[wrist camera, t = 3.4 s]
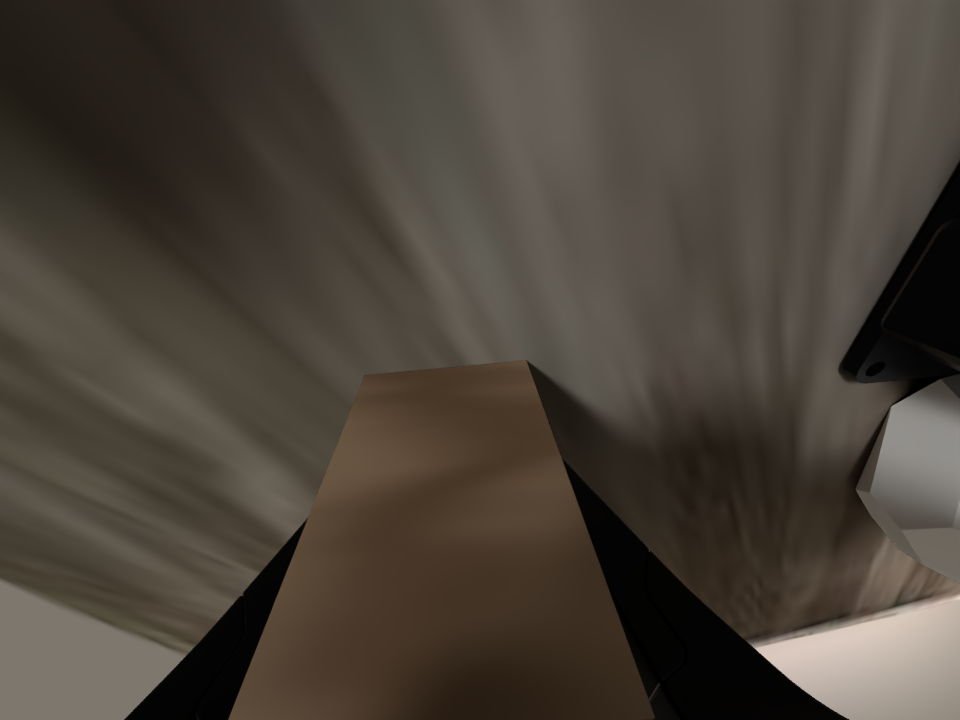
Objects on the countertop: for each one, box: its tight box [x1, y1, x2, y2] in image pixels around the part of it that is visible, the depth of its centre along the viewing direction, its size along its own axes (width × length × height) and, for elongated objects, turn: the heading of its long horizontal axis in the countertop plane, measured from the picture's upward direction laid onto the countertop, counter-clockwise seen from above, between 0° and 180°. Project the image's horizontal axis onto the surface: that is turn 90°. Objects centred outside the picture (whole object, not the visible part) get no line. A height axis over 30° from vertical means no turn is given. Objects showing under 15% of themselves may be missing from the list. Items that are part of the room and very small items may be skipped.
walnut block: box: [228, 360, 655, 720], centre depth 8 cm, size 4×4×7 cm
